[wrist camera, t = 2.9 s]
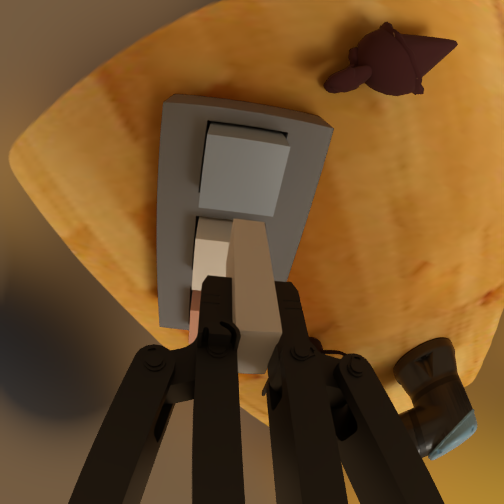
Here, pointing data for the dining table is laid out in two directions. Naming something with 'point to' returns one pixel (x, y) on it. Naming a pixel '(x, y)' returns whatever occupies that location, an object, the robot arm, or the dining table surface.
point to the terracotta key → (194, 315)
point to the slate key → (243, 169)
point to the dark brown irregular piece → (390, 62)
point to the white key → (210, 249)
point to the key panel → (187, 210)
